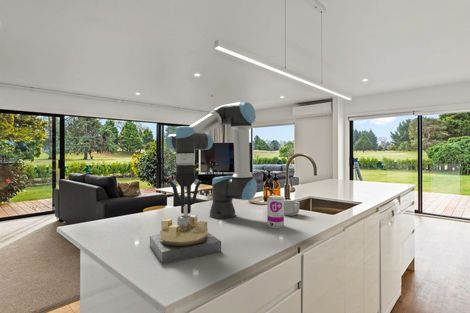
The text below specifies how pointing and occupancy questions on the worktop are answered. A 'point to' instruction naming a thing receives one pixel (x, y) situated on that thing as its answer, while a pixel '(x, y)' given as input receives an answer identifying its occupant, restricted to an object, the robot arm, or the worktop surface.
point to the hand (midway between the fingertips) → (186, 221)
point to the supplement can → (275, 211)
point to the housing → (184, 249)
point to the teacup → (291, 208)
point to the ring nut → (183, 231)
